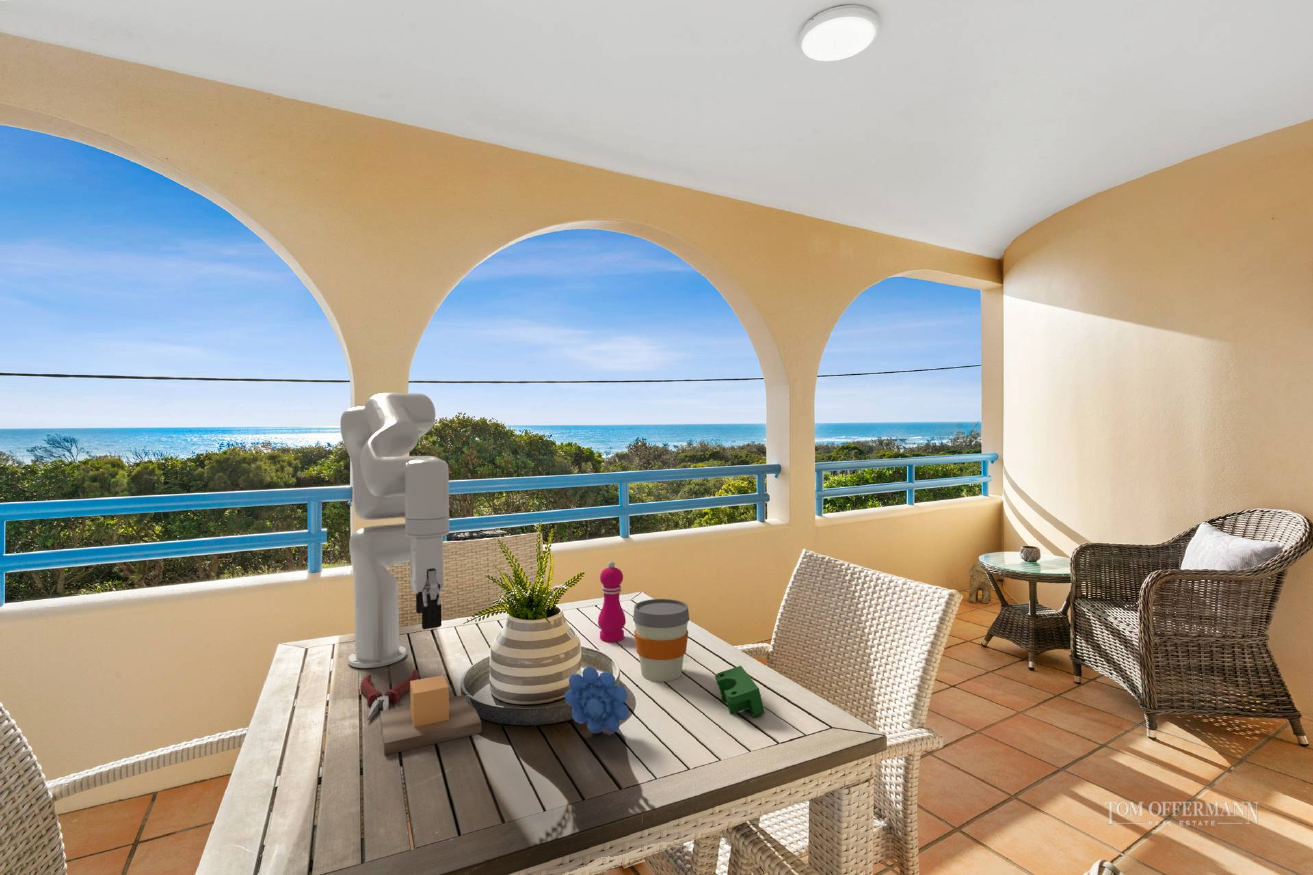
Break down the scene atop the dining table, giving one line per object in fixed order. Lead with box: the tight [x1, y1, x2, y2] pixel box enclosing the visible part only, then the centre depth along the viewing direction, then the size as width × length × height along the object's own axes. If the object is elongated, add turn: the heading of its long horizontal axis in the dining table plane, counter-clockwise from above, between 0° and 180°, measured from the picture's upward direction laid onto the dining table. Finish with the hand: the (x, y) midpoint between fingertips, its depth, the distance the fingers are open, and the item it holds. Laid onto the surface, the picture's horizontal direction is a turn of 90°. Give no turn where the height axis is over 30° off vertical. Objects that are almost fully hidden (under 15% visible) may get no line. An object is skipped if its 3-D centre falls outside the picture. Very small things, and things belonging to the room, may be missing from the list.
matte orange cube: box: [409, 674, 450, 727], centre depth 112 cm, size 6×6×6 cm
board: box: [379, 693, 482, 756], centre depth 112 cm, size 13×16×6 cm
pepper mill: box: [597, 561, 627, 643], centre depth 159 cm, size 7×7×20 cm
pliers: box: [359, 669, 420, 721], centre depth 124 cm, size 12×20×3 cm, turn 15°
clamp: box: [714, 665, 766, 718], centre depth 120 cm, size 12×6×9 cm, turn 4°
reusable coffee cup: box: [632, 598, 690, 683], centre depth 136 cm, size 13×12×15 cm
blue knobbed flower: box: [564, 666, 630, 735], centre depth 109 cm, size 12×7×12 cm, turn 87°
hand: (428, 619), depth 112 cm, fingers open, 9 cm apart
